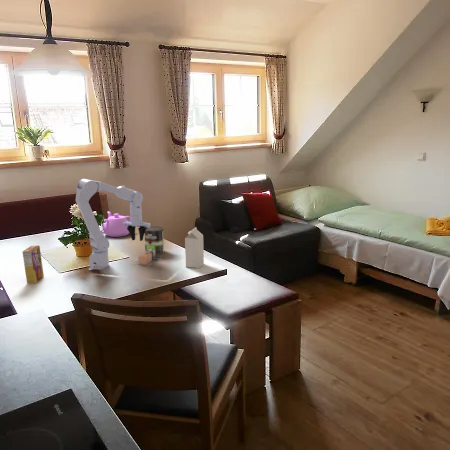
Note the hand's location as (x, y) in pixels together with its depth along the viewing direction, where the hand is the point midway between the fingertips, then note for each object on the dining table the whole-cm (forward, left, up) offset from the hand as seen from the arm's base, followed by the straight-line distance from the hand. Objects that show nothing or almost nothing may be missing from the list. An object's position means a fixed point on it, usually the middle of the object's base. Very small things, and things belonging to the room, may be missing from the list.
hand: (137, 240), depth 218 cm
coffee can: (+12, -4, -11) cm, 16 cm away
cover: (-6, -7, -9) cm, 13 cm away
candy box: (-40, +32, -11) cm, 52 cm away
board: (-4, -7, -10) cm, 13 cm away
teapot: (+44, +38, -11) cm, 59 cm away
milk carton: (-2, -32, -11) cm, 34 cm away
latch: (-1, -7, -9) cm, 12 cm away
